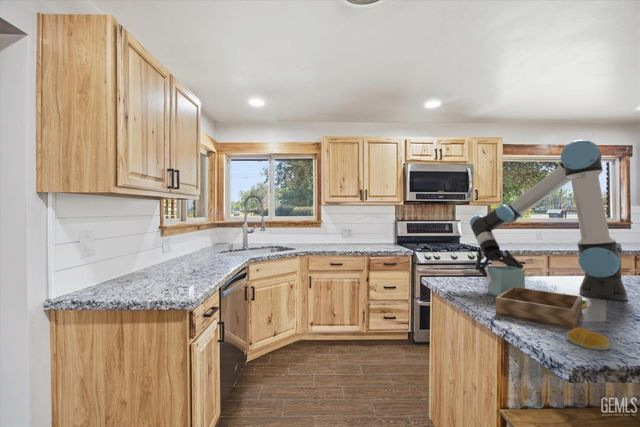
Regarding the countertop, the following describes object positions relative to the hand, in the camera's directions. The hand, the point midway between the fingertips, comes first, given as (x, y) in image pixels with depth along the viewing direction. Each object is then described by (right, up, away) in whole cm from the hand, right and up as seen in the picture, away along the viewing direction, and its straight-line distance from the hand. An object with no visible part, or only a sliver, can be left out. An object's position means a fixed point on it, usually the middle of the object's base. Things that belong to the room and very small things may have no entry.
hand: (506, 283), depth 137 cm
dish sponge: (+16, -7, -10) cm, 20 cm away
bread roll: (-5, -7, -47) cm, 48 cm away
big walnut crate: (-1, -6, -22) cm, 23 cm away
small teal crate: (0, -6, +1) cm, 6 cm away
